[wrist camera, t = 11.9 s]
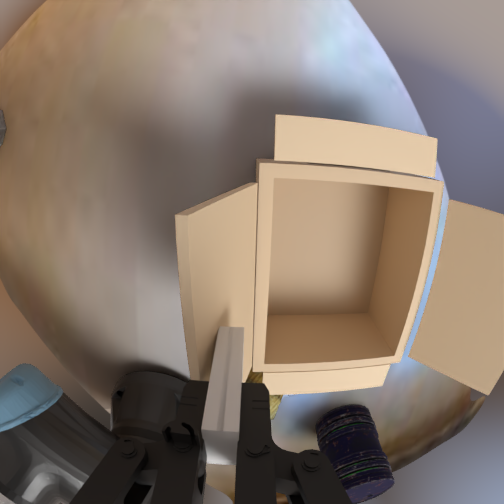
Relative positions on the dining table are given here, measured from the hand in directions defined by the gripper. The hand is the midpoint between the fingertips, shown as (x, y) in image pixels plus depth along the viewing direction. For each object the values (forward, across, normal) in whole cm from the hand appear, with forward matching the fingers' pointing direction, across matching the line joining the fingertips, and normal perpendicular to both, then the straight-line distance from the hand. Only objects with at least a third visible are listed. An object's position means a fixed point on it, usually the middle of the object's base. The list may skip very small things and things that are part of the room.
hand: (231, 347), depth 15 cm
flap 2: (+7, +17, 0) cm, 18 cm away
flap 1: (+7, +1, 0) cm, 7 cm away
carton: (+17, +9, 0) cm, 19 cm away
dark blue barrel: (+17, +17, -31) cm, 39 cm away
